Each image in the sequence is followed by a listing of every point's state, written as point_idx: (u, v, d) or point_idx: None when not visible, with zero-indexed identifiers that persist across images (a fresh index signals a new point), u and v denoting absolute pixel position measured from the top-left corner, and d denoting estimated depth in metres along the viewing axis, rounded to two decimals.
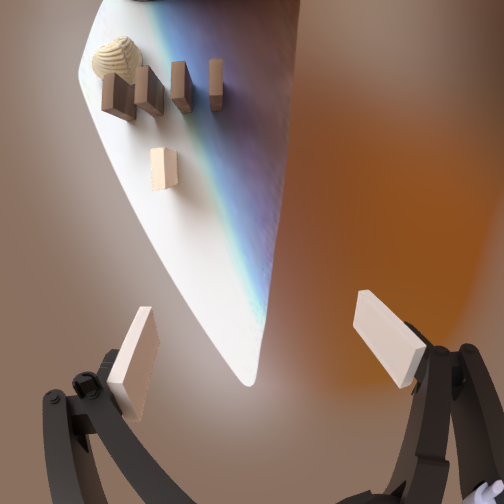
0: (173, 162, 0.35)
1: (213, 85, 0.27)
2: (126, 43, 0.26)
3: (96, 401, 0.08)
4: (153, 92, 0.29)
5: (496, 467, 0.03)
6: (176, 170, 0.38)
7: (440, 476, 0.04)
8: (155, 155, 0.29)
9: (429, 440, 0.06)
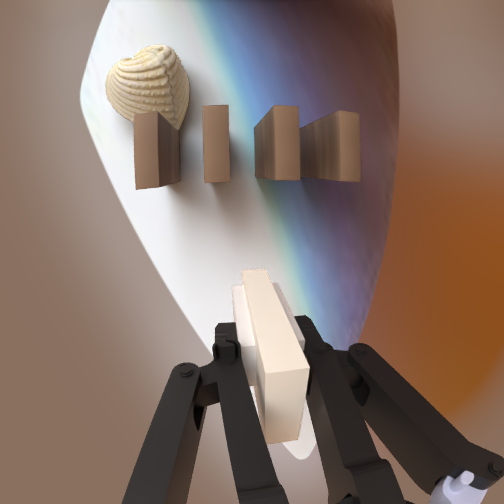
0: None
1: (347, 163, 0.17)
2: (171, 57, 0.17)
3: (230, 367, 0.11)
4: None
5: (454, 463, 0.04)
6: None
7: (386, 478, 0.05)
8: (281, 387, 0.09)
9: (351, 446, 0.06)
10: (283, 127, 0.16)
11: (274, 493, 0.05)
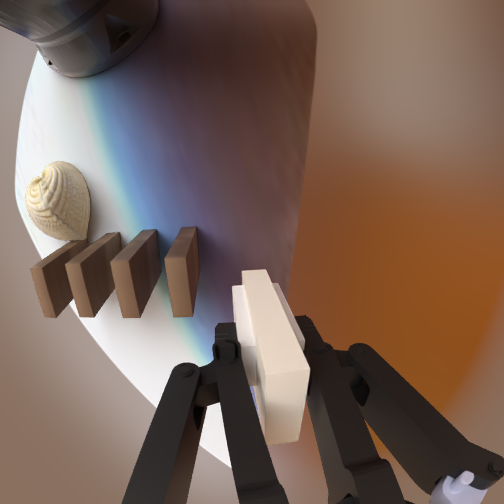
0: None
1: (177, 303, 0.21)
2: (55, 195, 0.20)
3: (230, 367, 0.11)
4: (101, 280, 0.23)
5: (454, 463, 0.04)
6: None
7: (386, 478, 0.05)
8: (281, 389, 0.09)
9: (351, 446, 0.06)
10: (119, 279, 0.19)
11: (274, 493, 0.05)
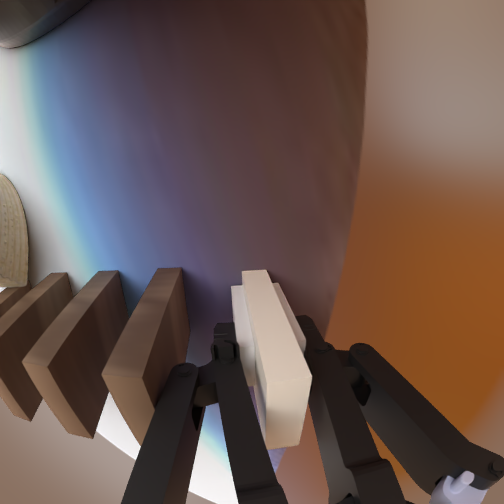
0: None
1: (143, 433, 0.09)
2: None
3: (228, 367, 0.11)
4: None
5: (455, 463, 0.04)
6: None
7: (387, 478, 0.05)
8: (282, 396, 0.09)
9: (352, 446, 0.06)
10: (44, 389, 0.08)
11: (273, 493, 0.05)
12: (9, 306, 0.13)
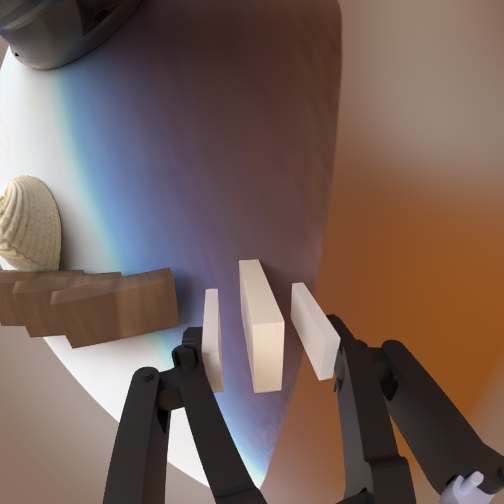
0: None
1: None
2: (12, 223, 0.14)
3: (191, 373, 0.10)
4: None
5: (467, 462, 0.04)
6: None
7: (402, 475, 0.04)
8: (264, 337, 0.13)
9: (374, 441, 0.06)
10: None
11: (252, 497, 0.05)
12: None
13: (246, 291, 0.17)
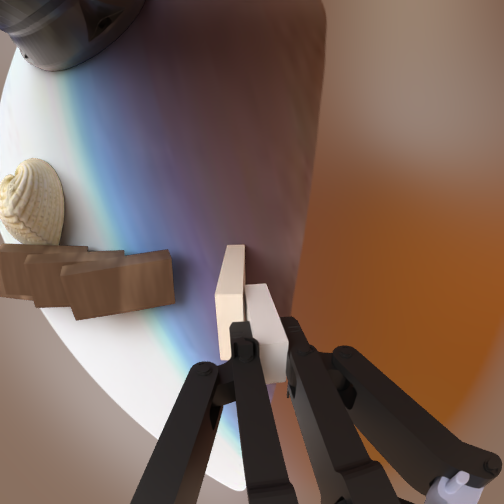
0: (244, 276, 0.22)
1: None
2: (23, 200, 0.16)
3: (247, 365, 0.11)
4: None
5: (448, 464, 0.04)
6: None
7: (379, 480, 0.05)
8: (225, 307, 0.16)
9: (341, 449, 0.06)
10: None
11: (284, 492, 0.05)
12: None
13: (221, 269, 0.19)
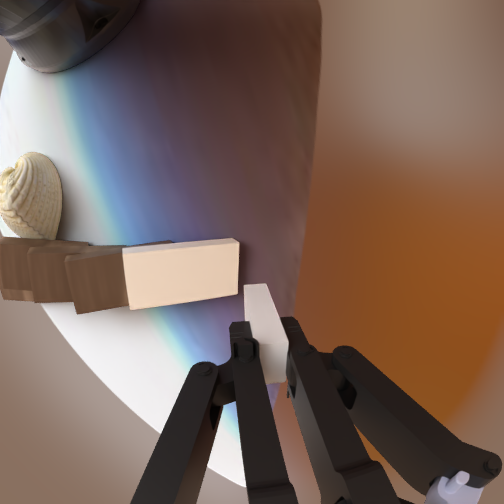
0: (202, 265, 0.23)
1: None
2: (21, 194, 0.16)
3: (247, 365, 0.11)
4: (26, 272, 0.19)
5: (448, 464, 0.04)
6: (229, 275, 0.24)
7: (379, 480, 0.05)
8: None
9: (341, 449, 0.06)
10: None
11: (284, 492, 0.05)
12: None
13: (167, 244, 0.22)
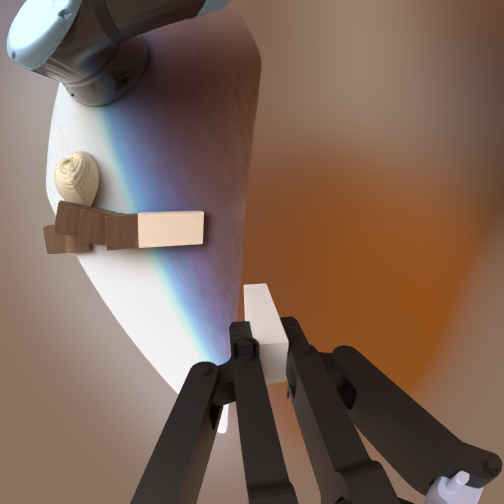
0: (182, 224, 0.40)
1: None
2: (79, 176, 0.32)
3: (247, 365, 0.11)
4: (73, 224, 0.36)
5: (448, 464, 0.04)
6: (197, 231, 0.41)
7: (379, 480, 0.05)
8: None
9: (341, 449, 0.06)
10: None
11: (284, 492, 0.05)
12: None
13: None
